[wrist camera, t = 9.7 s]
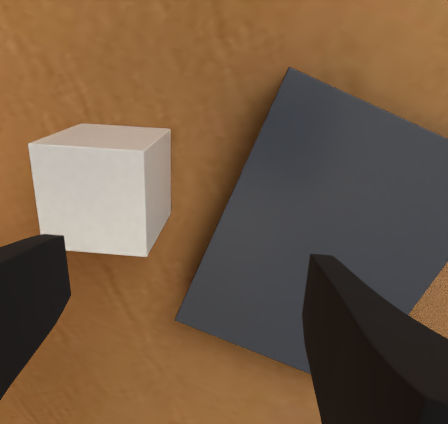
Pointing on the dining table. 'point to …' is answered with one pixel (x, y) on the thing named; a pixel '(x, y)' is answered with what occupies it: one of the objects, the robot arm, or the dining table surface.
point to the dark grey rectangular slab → (321, 217)
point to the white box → (103, 187)
